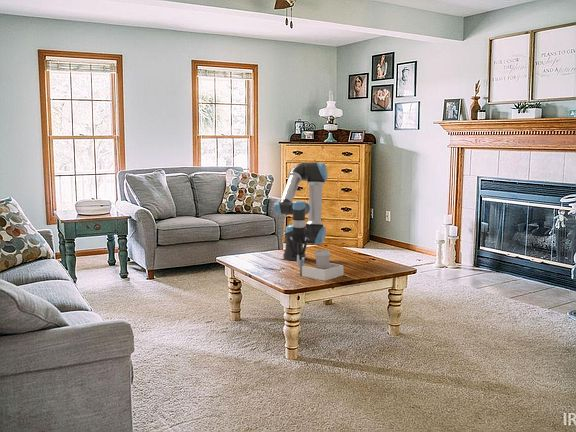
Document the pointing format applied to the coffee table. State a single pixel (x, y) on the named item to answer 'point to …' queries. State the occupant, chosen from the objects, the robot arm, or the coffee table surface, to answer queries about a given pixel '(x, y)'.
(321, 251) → the coffee cup
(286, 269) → the coffee table surface
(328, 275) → the white open box
